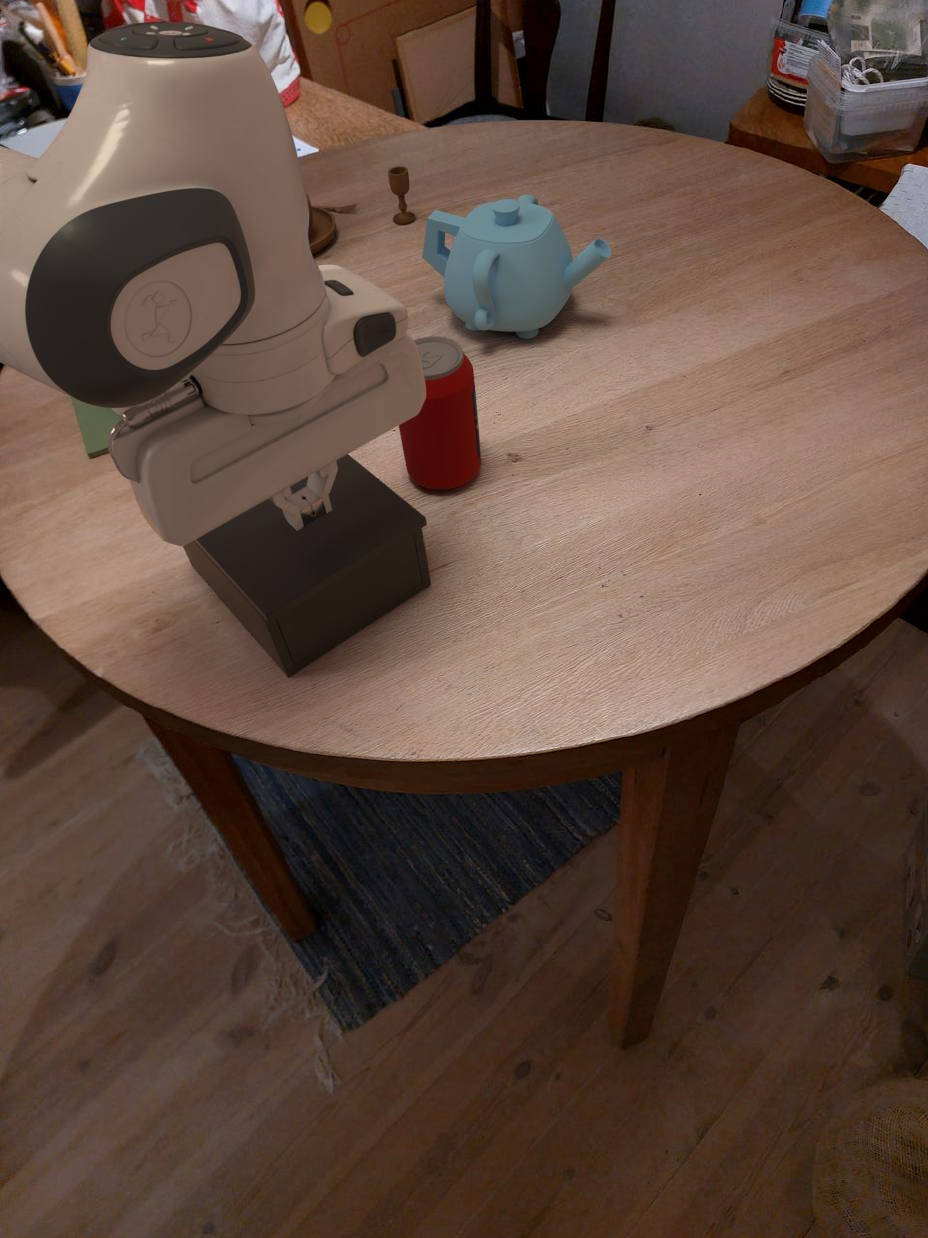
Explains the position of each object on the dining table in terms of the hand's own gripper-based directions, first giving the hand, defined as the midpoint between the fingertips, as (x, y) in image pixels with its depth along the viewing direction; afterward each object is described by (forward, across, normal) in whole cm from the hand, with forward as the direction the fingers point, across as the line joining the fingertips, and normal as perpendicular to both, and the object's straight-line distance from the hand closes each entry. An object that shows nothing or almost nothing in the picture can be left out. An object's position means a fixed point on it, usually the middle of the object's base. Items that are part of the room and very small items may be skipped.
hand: (309, 516), depth 61 cm
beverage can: (+10, +16, +6) cm, 20 cm away
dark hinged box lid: (+3, 0, +4) cm, 5 cm away
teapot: (+10, +38, +21) cm, 44 cm away
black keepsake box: (+10, 0, +4) cm, 11 cm away
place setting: (+10, +32, +50) cm, 60 cm away
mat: (+10, 0, +36) cm, 38 cm away
